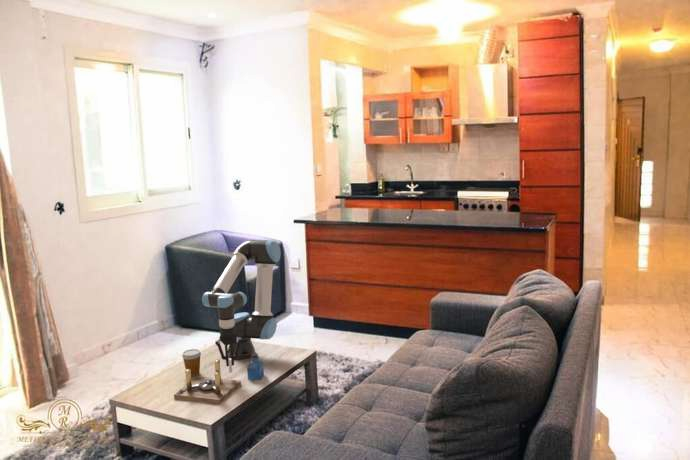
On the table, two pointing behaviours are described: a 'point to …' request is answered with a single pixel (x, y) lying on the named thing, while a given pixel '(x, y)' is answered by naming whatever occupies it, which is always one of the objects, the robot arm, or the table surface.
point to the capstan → (206, 381)
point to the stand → (208, 396)
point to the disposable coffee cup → (192, 361)
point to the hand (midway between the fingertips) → (230, 371)
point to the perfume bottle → (255, 368)
